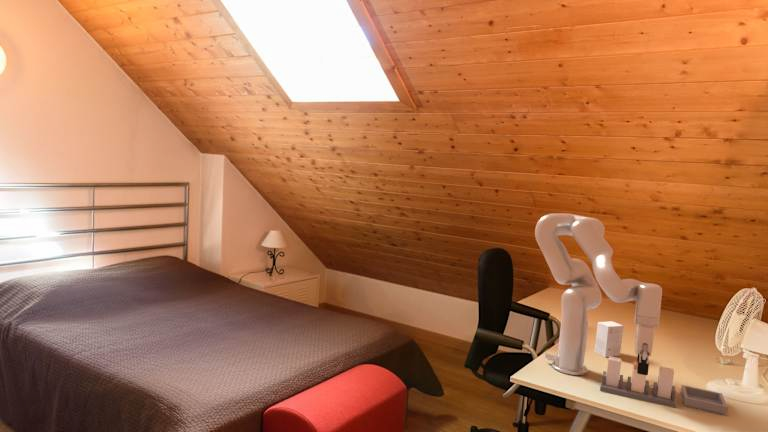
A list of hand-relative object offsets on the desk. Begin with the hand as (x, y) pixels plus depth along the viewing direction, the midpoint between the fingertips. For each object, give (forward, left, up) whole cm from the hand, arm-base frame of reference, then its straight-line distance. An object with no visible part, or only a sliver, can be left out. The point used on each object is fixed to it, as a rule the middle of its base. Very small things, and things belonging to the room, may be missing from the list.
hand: (642, 369), depth 184 cm
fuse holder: (-1, 0, -9) cm, 9 cm away
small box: (-12, +38, -9) cm, 41 cm away
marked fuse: (-1, 0, -7) cm, 7 cm away
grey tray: (+19, +4, -9) cm, 22 cm away
